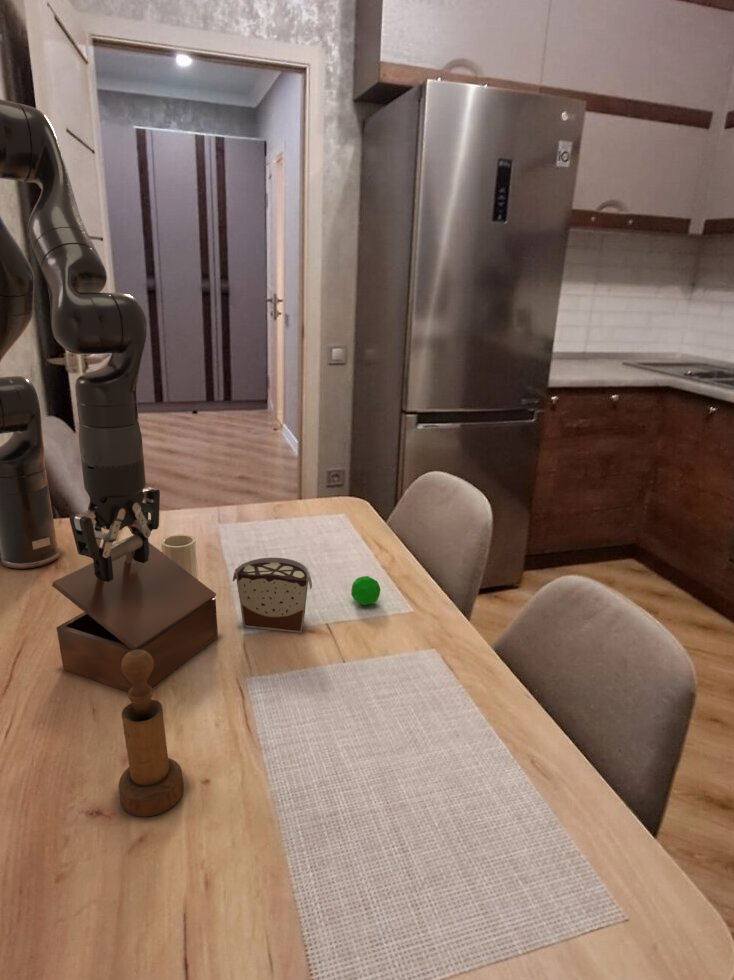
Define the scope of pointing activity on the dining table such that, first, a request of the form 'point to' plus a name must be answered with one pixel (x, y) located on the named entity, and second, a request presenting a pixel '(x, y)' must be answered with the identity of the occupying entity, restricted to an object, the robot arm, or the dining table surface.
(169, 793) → the mortar and pestle
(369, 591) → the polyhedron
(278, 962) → the dining table surface
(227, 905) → the dining table surface
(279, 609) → the food container
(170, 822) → the dining table surface
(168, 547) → the ceramic cup
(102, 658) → the walnut box
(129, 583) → the box lid
